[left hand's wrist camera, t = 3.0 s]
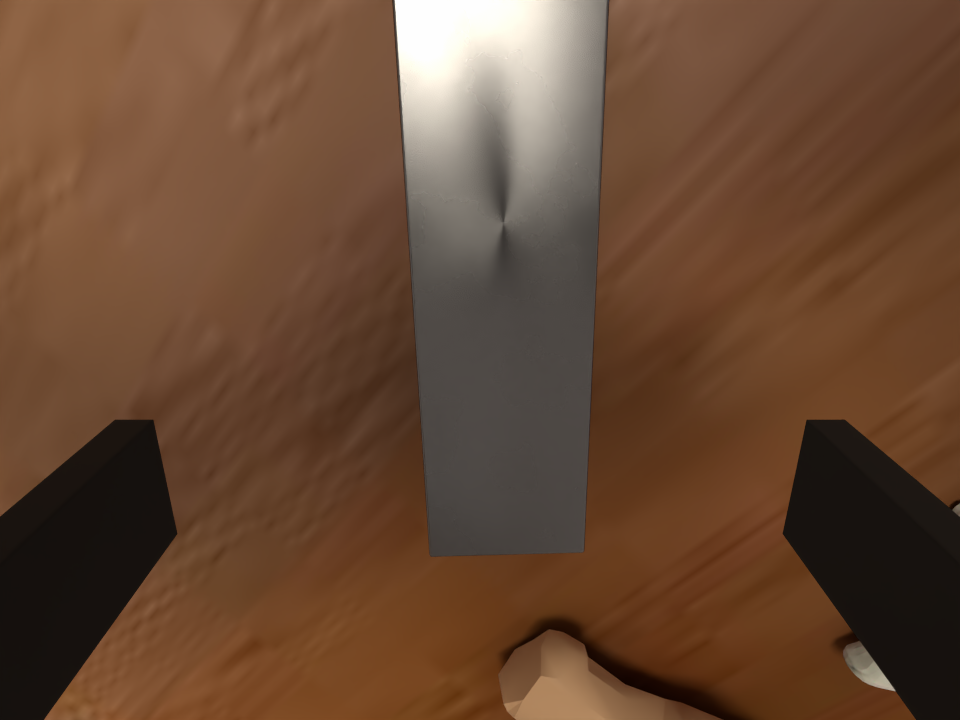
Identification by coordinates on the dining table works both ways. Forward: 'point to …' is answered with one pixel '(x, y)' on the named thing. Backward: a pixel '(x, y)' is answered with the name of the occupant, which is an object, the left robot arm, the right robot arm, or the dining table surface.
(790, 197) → the dining table surface
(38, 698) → the left robot arm
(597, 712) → the squash
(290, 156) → the dining table surface
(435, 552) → the bar
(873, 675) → the tape dispenser
